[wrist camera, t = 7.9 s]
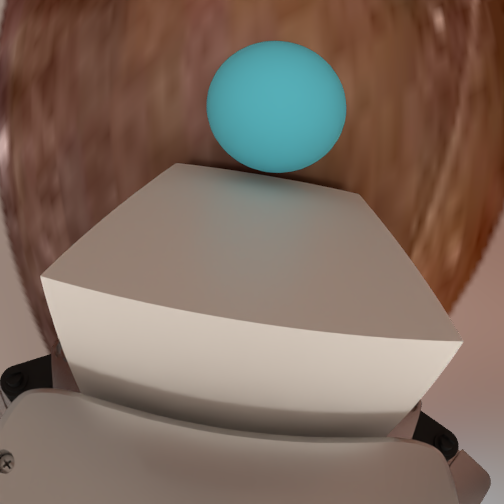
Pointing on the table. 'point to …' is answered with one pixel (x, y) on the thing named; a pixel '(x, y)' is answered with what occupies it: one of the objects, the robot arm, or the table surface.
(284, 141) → the plastic egg
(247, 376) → the white block
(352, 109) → the table surface
